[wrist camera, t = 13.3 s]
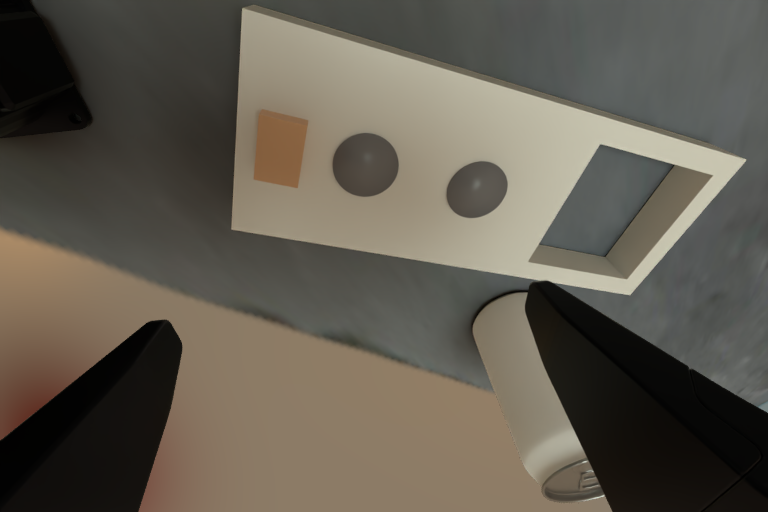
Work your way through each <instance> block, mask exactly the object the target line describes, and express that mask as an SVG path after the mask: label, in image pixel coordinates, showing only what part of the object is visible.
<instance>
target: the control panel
mask: <svg viewBox="0 0 768 512" xmlns="http://www.w3.org/2000/svg"><path fill="white" fill-rule="evenodd" d="M600 144H603V145H606V146H610V147H613V148H617V149H621V150H624V151H628V152H631V153H635V154H639V155H642V156H646V157H649V158H653V159H657V160H660V161H664V162H667V163H671V164H674V167H673V168H672V169H671V171H670V172H669V173H668V175H667V176H666V177H665V179H664V180H663V181H662V183H661V184H660V185H659V186H658V188H657V189H656V190H655V192H654V193H653V194H652V196H651V197H650V198H649V200H648V201H647V202H646V204H645V205H644V206H643V208H642V209H641V210H640V212H639V213H638V214H637V216H636V217H635V218H634V220H633V221H632V222H631V224H630V225H629V226H628V228H627V229H626V230H625V232H624V233H623V234H622V236H621V237H620V238H619V240H618V241H617V242H616V243H615V245H614V246H613V247H612V249H611V250H610V251H609V253H608V254H607V255H606V257H602V256H597V255H592V254H586V253H581V252H576V251H571V250H566V249H560V248H555V247H550V246H545V245H539V243H540V241H541V239H542V238H543V236H544V235H545V233H546V231H547V230H548V228H549V226H550V225H551V223H552V222H553V220H554V218H555V217H556V215H557V213H558V212H559V210H560V209H561V207H562V205H563V204H564V202H565V200H566V199H567V197H568V196H569V194H570V192H571V191H572V189H573V187H574V186H575V184H576V182H577V181H578V179H579V178H580V176H581V174H582V173H583V171H584V169H585V168H586V166H587V165H588V163H589V161H590V160H591V158H592V156H593V155H594V153H595V152H596V150H597V148H598V147H599V145H600ZM745 161H746V159H744V158H742V157H739V156H737V155H735V154H732V153H730V152H728V151H726V150H723V149H721V148H719V147H717V146H714V145H712V144H710V143H706V142H703V141H700V140H697V139H693V138H690V137H687V136H683V135H680V134H677V133H674V132H670V131H667V130H664V129H661V128H657V127H654V126H651V125H647V124H644V123H641V122H638V121H634V120H631V119H628V118H624V117H621V116H618V115H615V114H611V113H608V112H605V111H602V110H598V109H595V108H592V107H588V106H585V105H582V104H579V103H575V102H572V101H569V100H565V99H562V98H559V97H556V96H552V95H549V94H546V93H543V92H539V91H536V90H533V89H529V88H526V87H523V86H520V85H516V84H513V83H510V82H507V81H503V80H500V79H497V78H493V77H490V76H487V75H484V74H480V73H477V72H474V71H470V70H467V69H464V68H461V67H457V66H454V65H451V64H448V63H444V62H441V61H438V60H434V59H431V58H428V57H425V56H421V55H418V54H415V53H411V52H408V51H405V50H402V49H398V48H395V47H392V46H389V45H385V44H382V43H379V42H375V41H372V40H369V39H366V38H362V37H359V36H356V35H352V34H349V33H346V32H343V31H339V30H336V29H333V28H330V27H326V26H323V25H320V24H316V23H313V22H310V21H307V20H303V19H300V18H297V17H293V16H290V15H287V14H284V13H280V12H277V11H274V10H271V9H267V8H264V7H261V6H257V5H251V6H247V7H244V8H242V24H241V44H240V65H239V85H238V105H237V126H236V146H235V166H234V187H233V207H232V228H231V230H237V231H243V232H249V233H255V234H261V235H268V236H274V237H280V238H286V239H292V240H298V241H304V242H310V243H316V244H322V245H328V246H334V247H340V248H347V249H353V250H359V251H365V252H371V253H377V254H383V255H389V256H395V257H401V258H407V259H413V260H419V261H426V262H432V263H438V264H444V265H450V266H456V267H462V268H468V269H474V270H480V271H486V272H492V273H498V274H505V275H511V276H517V277H523V278H529V279H535V280H541V281H542V280H548V281H550V282H553V283H559V284H565V285H571V286H577V287H584V288H590V289H596V290H602V291H608V292H614V293H620V294H626V295H631V293H632V292H633V291H634V290H635V289H636V288H637V286H638V285H639V284H640V283H641V282H642V281H643V280H644V278H645V277H646V276H647V275H648V274H649V273H650V271H651V270H652V269H653V268H654V267H655V266H656V264H657V263H658V262H659V261H660V260H661V259H662V257H663V256H664V255H665V254H666V253H667V252H668V251H669V249H670V248H671V247H672V246H673V245H674V244H675V242H676V241H677V240H678V239H679V238H680V237H681V235H682V234H683V233H684V232H685V231H686V230H687V229H688V227H689V226H690V225H691V224H692V223H693V222H694V220H695V219H696V218H697V217H698V216H699V215H700V213H701V212H702V211H703V210H704V209H705V208H706V206H707V205H708V204H709V203H710V202H711V201H712V200H713V198H714V197H715V196H716V195H717V194H718V193H719V191H720V190H721V189H722V188H723V187H724V186H725V184H726V183H727V182H728V181H729V180H730V179H731V177H732V176H733V175H734V174H735V173H736V172H737V171H738V169H739V168H740V167H741V166H742V165H743V164H744V162H745Z"/></svg>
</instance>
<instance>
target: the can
mask: <svg viewBox="0 0 768 512" xmlns="http://www.w3.org/2000/svg"><path fill="white" fill-rule="evenodd" d="M527 294H528V293H527V292H514V293H510V294H506V295H504V296H501V297H499V298H497V299H495V300H493V301H492V302H490V303H489V304H487V305H486V306H485V307H484V308H483V309H482V310H481V311H480V313H479V314H478V316H477V318H476V319H475V322H474V324H473V336H474V339H475V342H476V345H477V347H478V350H479V353H480V355H481V358H482V360H483V363H484V366H485V368H486V371H487V374H488V376H489V379H490V381H491V384H492V387H493V389H494V392H495V394H496V397H497V400H498V402H499V405H500V407H501V410H502V412H503V415H504V417H505V420H506V422H507V425H508V428H509V430H510V433H511V436H512V438H513V441H514V443H515V446H516V448H517V451H518V453H519V456H520V458H521V461H522V463H523V465H524V467H525V469H526V470H527V472H528V473H529V474H530V475H531V476H532V477H533V478H534V479H535V480H536V481H537V482H538V484H539V485H540V486H541V488H542V494H543V496H544V497H545V498H547V499H548V500H550V501H554V502H559V503H574V502H583V501H588V500H593V499H597V498H600V497H603V496H605V495H604V493H603V490H602V488H601V486H600V484H599V482H598V480H597V478H596V476H595V474H594V472H593V469H592V467H591V465H590V463H589V461H588V459H587V457H586V455H585V453H584V450H583V448H582V446H581V444H580V442H579V440H578V438H577V436H576V434H575V431H574V429H573V427H572V425H571V423H570V421H569V419H568V417H567V415H566V413H565V410H564V408H563V406H562V404H561V402H560V400H559V398H558V396H557V394H556V391H555V389H554V387H553V385H552V383H551V381H550V379H549V377H548V375H547V372H546V370H545V368H544V365H543V363H542V360H541V357H540V354H539V351H538V348H537V346H536V343H535V340H534V337H533V334H532V331H531V328H530V325H529V322H528V319H527V316H526V313H525V302H526V298H527Z"/></svg>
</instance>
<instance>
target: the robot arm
mask: <svg viewBox="0 0 768 512" xmlns="http://www.w3.org/2000/svg"><path fill="white" fill-rule="evenodd" d="M73 82H74V80H73V78H72V76H71V74H70V72H69V70H68V68H67V66H66V64H65V63H64V61H63V59H62V57H61V55H60V53H59V51H58V49H57V48H56V46H55V44H54V42H53V40H52V38H51V36H50V35H49V33H48V31H47V29H46V27H45V25H44V23H43V21H42V20H41V18H40V17H39V16H37V15H36V13H35V11H34V9H33V7H32V6H31V4H30V2H29V0H0V138H6V137H15V136H25V135H34V134H43V133H52V132H61V131H71V130H80V129H84V128H86V127H87V126H89V125H90V124H91V121H92V118H91V115H90V113H89V112H88V110H87V108H86V106H85V104H84V102H83V100H82V98H81V97H80V95H79V93H78V91H77V89H76V87H75V85H74V84H73ZM73 113H75V114H77V115H78V116H79V117H80V118H81V121H78V120H76V118H75V117H74V115H73ZM525 313H526V316H527V319H528V322H529V325H530V328H531V331H532V334H533V337H534V340H535V343H536V346H537V348H538V351H539V354H540V357H541V360H542V363H543V365H544V368H545V370H546V372H547V375H548V377H549V379H550V381H551V383H552V385H553V387H554V389H555V391H556V394H557V396H558V398H559V400H560V402H561V404H562V406H563V408H564V410H565V413H566V415H567V417H568V419H569V421H570V423H571V425H572V427H573V429H574V431H575V434H576V436H577V438H578V440H579V442H580V444H581V446H582V448H583V450H584V453H585V455H586V457H587V459H588V461H589V463H590V465H591V467H592V469H593V472H594V474H595V476H596V478H597V480H598V482H599V484H600V486H601V488H602V490H603V493H604V495H605V497H606V499H607V501H608V503H609V505H610V507H611V509H612V512H768V413H767V412H765V411H763V410H761V409H760V408H758V407H756V406H754V405H753V404H751V403H749V402H747V401H745V400H744V399H742V398H740V397H738V396H737V395H735V394H733V393H732V392H730V391H728V390H727V389H725V388H723V387H722V386H720V385H718V384H716V383H715V382H713V381H711V380H710V379H708V378H707V377H705V376H703V375H702V374H700V373H698V372H697V371H695V370H694V369H689V367H688V366H687V365H685V364H684V363H682V362H680V361H679V360H677V359H675V358H674V357H672V356H671V355H669V354H667V353H666V352H664V351H662V350H661V349H659V348H658V347H656V346H654V345H653V344H651V343H650V342H648V341H646V340H645V339H643V338H641V337H640V336H638V335H637V334H635V333H633V332H632V331H630V330H628V329H627V328H625V327H624V326H622V325H620V324H619V323H617V322H615V321H614V320H612V319H611V318H609V317H607V316H606V315H604V314H602V313H601V312H599V311H598V310H596V309H594V308H593V307H591V306H589V305H588V304H586V303H585V302H583V301H581V300H580V299H578V298H576V297H575V296H573V295H572V294H570V293H568V292H567V291H565V290H563V289H562V288H560V287H559V286H557V285H555V284H554V283H552V282H550V281H548V280H542V281H533V282H532V283H531V284H530V286H529V290H528V294H527V298H526V302H525ZM181 354H182V342H181V340H180V338H179V336H178V335H177V333H176V331H175V330H174V328H173V326H172V324H171V323H170V322H169V321H168V320H156V321H150V322H148V323H146V324H145V325H144V326H142V327H141V328H140V329H139V330H137V331H136V332H135V333H134V334H132V335H131V336H130V337H129V338H127V339H126V340H125V341H124V342H122V343H121V344H120V345H119V346H118V347H116V348H115V349H114V350H113V351H111V352H110V353H109V354H108V355H106V356H105V357H104V358H103V359H101V360H100V361H99V362H98V363H96V364H95V365H94V366H93V367H91V368H90V369H89V370H88V371H86V372H85V373H84V374H83V375H82V376H80V377H79V378H78V379H77V380H75V381H74V382H73V383H72V384H70V385H69V386H68V387H66V388H65V389H64V390H63V391H61V392H60V393H59V394H58V395H57V396H55V397H54V398H53V399H51V400H50V401H49V402H48V403H47V404H45V405H44V406H43V407H42V408H40V409H39V410H38V411H37V412H35V413H34V414H33V415H32V416H30V417H29V418H28V419H27V420H25V421H24V422H23V423H22V424H20V425H19V426H18V427H17V428H15V429H14V430H13V431H12V432H10V433H9V434H8V435H7V436H5V437H4V438H3V439H2V440H0V512H138V511H139V508H140V505H141V501H142V499H143V495H144V492H145V489H146V486H147V482H148V480H149V476H150V473H151V470H152V467H153V464H154V460H155V457H156V454H157V451H158V448H159V444H160V441H161V438H162V435H163V432H164V429H165V426H166V422H167V419H168V416H169V412H170V409H171V404H172V400H173V395H174V390H175V385H176V380H177V375H178V370H179V365H180V360H181Z"/></svg>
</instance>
